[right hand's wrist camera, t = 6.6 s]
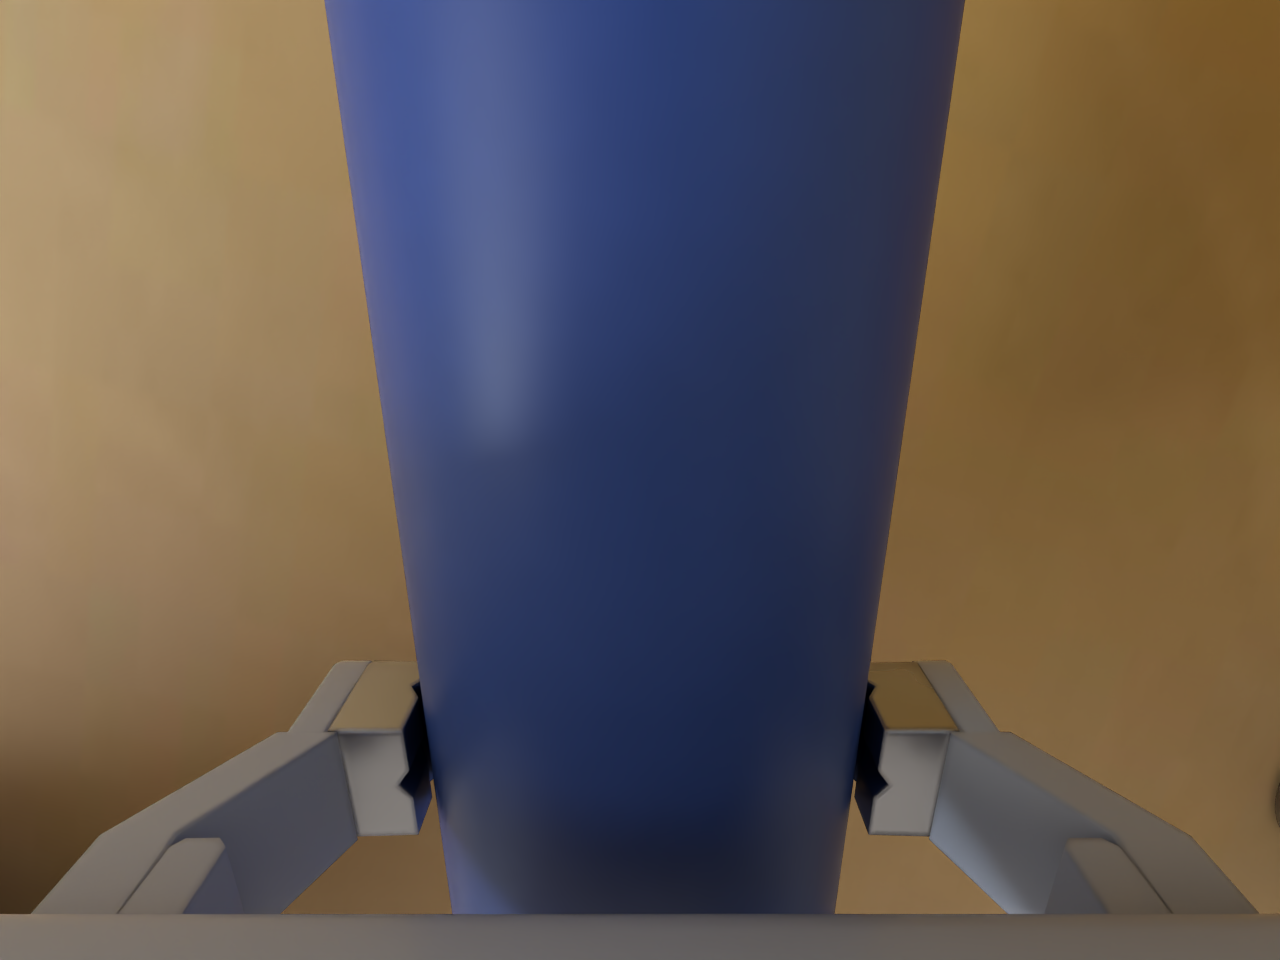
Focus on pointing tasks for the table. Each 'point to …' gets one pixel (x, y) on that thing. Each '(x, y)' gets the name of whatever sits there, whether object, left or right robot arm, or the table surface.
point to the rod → (644, 418)
